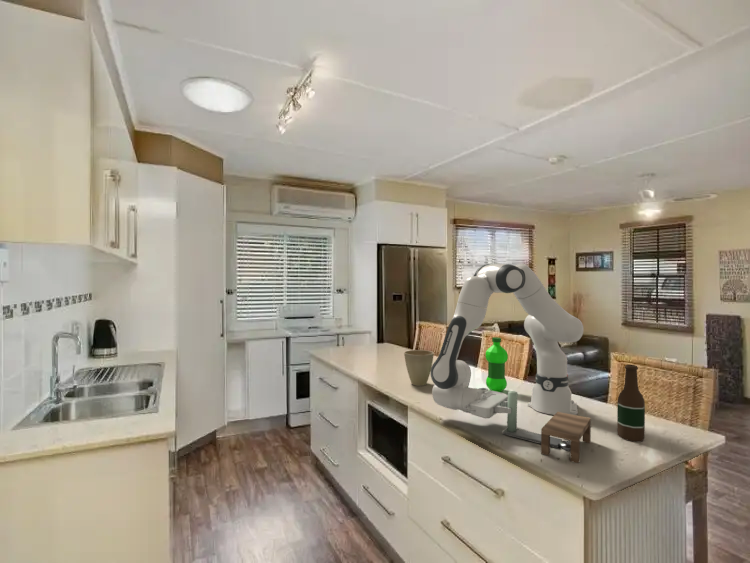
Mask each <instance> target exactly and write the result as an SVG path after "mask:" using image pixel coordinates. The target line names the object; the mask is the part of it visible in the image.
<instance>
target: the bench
mask: <svg viewBox="0 0 750 563" xmlns="http://www.w3.org/2000/svg"><path fill="white" fill-rule="evenodd" d="M591 421H592V420H591V417H588V416H582V415H578V414H577V415H572V414H567V413H562V412H557V413H556V414H555V415H553V416H552V417H550V419H549V420H548V421H547V422H546V423H545V425H543V426H542V427H541V429H540V430H541V432H540V434H541V444H540V450H541V451H540V452H541V453H540V454H541V455H544V456H549V455H550V454H551V446H550V437H554V438H558V439H562V440H566V441H571V452H570V462H572V463H575V464H579V463H580V462H581V460H580V456H581V452H580V451H581V450H580V448H581V440H582V442H583V443H587V444H590V443H591V441H592V440H591V438H592V437H591V434H592V433H591V431H592V430H591V428H592V424H591V423H592V422H591Z"/></svg>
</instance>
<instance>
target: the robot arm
mask: <svg viewBox="0 0 750 563" xmlns="http://www.w3.org/2000/svg"><path fill="white" fill-rule="evenodd" d="M493 293H497V294H498V293H503V294H504V293H505V294H511V293H513V295H514V297H515V298H516V299H517V301H518V303H519V304H520V306H521V307H522V308H523V309H522V310H524V312H525V313H527V314H528V315H526V317H525V319H524V322H523V327H524V330H525V332H526V334H528V335H529V337H530V338H531V341H532V343H533V345H534V349H535V352H536V373H535V384H534V385H532V388H531V398H530V399H531V401H529V402H527V405H526V406H527V407H531V408H532V409H533V410H534V411H537V412H540V413H543V414H546V415H547V414H548V415H553V416H554V415H555V414H556V413H557V412H562V413H567V414H572V415H577V416H578V414H579V413H578V403H577V402H575V401H574V400H572V391H571V388H570V386H569V385H570V384H569V375H568V357H567V354H566V353H565V352H564V351H563V350H562V349H561V347H560V345H559V343H562V344H563V343H565V344H566V343H576V342H579V341H580V340H581V338H582V337H583V335H584V329H585V328H584V324H583V322H582V321H581V320H580V319H579V318H578V317H575V316H574V315H572V314H570V313H569V312H568V311H566V310H565V309H564V308H563V307H562V306H561V305H560V304H559V303H557V302H556V300H555V299H553V297H552V296H551V295H550V293H549V292H548V290H547V289H546V287H545V286H544V284H543V282H542V281H541V279H540V278H539V277H538V275H537V274H536V273H535V271H533V269H532V268H530V267H529V266H528V265H527V264H524V263H518V264H515V265H514V264H509V263H508V264H507V263H492V264H491V263H489V264H484V265H481V266H479V267H478V268H477V269H476V271H475V272H474V274H473V275H472V276H469V277H467V278H466V279H465V280H464V282H463V284H462V286H461V290H460V292H459V295H458V298H457V303H456V306H455V310H454V314H453V316H452V318H451V321H450V322H449V325H448V327H447V331H446V332H445V336H444V339H443V342H442V345H441V348H440V351H439V354H438V356H437V358H436V359H435V361H433V363H432V367H431V371H430V379H431V381H432V383H433V387H432V390H431V394H432V400H433V401H434V403H435V404H437V405H438V406H440V407H443V408H446V409H450V410H453V411H454V410H455V411H459V410H460V411H462V412H463V413H467V414H471V415H473V416H475V417H478V418H483V419H491V418H492V417H493V416H495V415H496V414H510V413H512V408H511V407H508V393H503V392H496V391H491V390H489V388H488V387H481V388H476V387H475V388H474V387H469V386H470V382H471V377H472V371H471V370H472V369H471V367H470V365H469V364H468V363H467V362H466V361H464V360H461V359H458V358H459V354H460V351H461V348H462V345H463V341H464V339H465V338H466V337H467V336H468V334H470V333H471V332H472V331H474V330H476V329H478V328H480V327H481V326H482V324H483V322H484V320H485V318H486V314H487V311H488V305H489V300H490V297H491V296H492V294H493Z"/></svg>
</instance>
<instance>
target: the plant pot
mask: <svg viewBox="0 0 750 563" xmlns="http://www.w3.org/2000/svg"><path fill="white" fill-rule="evenodd" d="M434 354H435V352H434V351H431V350H427V349H426V350H425V349H424V350H423V349H412V350H405V351H404V352H403V355H404V361H405V362H404V363H405V366H406V370H407V374H408V378H409V380H410V382H411V383H410V384H411V385H412V386H418V387H421V386H426V385H427V384H428V380H429V379H430V376H431V367H432V365H433V363H434V356H435V355H434Z"/></svg>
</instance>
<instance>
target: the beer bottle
mask: <svg viewBox="0 0 750 563" xmlns="http://www.w3.org/2000/svg"><path fill="white" fill-rule="evenodd" d="M624 369H625V373H624V375H625V376H624V385H623V389H622V390H621V391H620V393H619V395H618V397H617V410H616V411H617V415H616V416H617V419H616V420H617V423H616V424H617V426H616V427H617V428H616V430H617V436H618V437H619V438H620V439H622V440H625V441H630V442H640V443H641V442H643V441H644V439H645V434H646V431H645V430H646V428H645V427H646V426H645V425H646V421H645V420H646V417H645V416H646V404H645V399H644V396H643V394H642V393H641V392H640V390H639V383H638V381H639V380H638V369H639V368H638V366H637V365H636V364H626V365H625V366H624Z"/></svg>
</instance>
